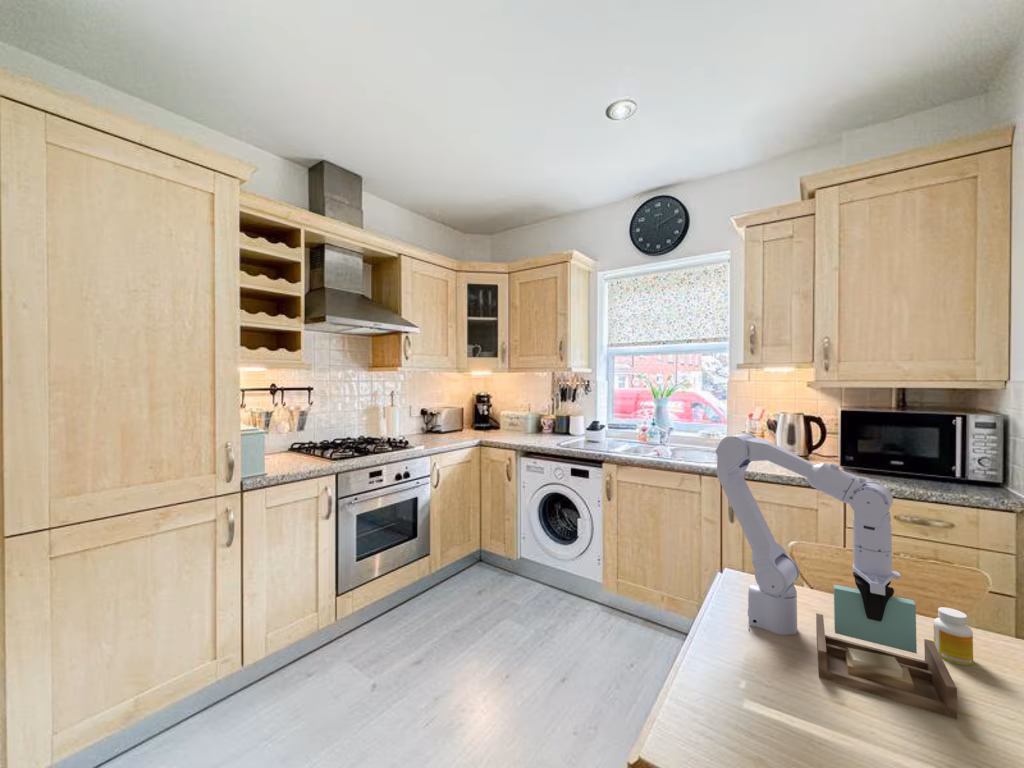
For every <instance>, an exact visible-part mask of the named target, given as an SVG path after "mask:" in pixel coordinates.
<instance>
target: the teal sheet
mask: <svg viewBox="0 0 1024 768" xmlns="http://www.w3.org/2000/svg"><path fill="white" fill-rule="evenodd" d="M916 609H917V607H916V603H915V601H914V600H913V599H910V598H904V597H898V596H894V595H892V596H891V598H890V599H889V600H888V602H887V604H886V607H885V611H884V615H883V618H882V621H881V622H880V621H875V620H871V619H868V618H867V616H866V613H865V609H864V603H863V599H862V595H861V593H860V591H859V589H858V588H854V587H849V586H843V585H838V584H833V611H834V612H833V615H834V616H833V617H834V618H833V619H834V621H833V622H834V627H833V628H834V634H837V635H841V636H844V637H848V638H851V639H852V638H853V639H856V640H860V641H865V642H869V643H872V644H875V645H876V644H877V645H880V646H885V647H889V648H893V649H898V650H899V651H900V650H901V651H904V652H909V653H911V654H912V653H913V654H918V650H917V610H916Z"/></svg>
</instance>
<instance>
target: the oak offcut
mask: <svg viewBox="0 0 1024 768" xmlns="http://www.w3.org/2000/svg"><path fill="white" fill-rule="evenodd" d="M846 664H847V671H848V674H851V675H854V676H858V677H861V678H865V679H868V680H872V681H875V682H878V683H882V684H885V685H889V686H892V687H895V688H899V689H902V690H906V691H909V692H912V693H914V684H913V681H912V679H911V676H910V673H909V671H908V668H905V667H901V666H900V667H901V668H902V670H903V679H902V678H897V677H893V676H888V675H884V674H879V673H875V672H871V671H866V670H862V669H857V668H853V666H852V663H851V661H850V659H849V657H848V652H846Z"/></svg>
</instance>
